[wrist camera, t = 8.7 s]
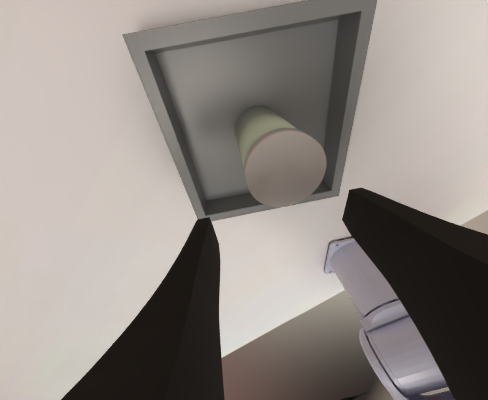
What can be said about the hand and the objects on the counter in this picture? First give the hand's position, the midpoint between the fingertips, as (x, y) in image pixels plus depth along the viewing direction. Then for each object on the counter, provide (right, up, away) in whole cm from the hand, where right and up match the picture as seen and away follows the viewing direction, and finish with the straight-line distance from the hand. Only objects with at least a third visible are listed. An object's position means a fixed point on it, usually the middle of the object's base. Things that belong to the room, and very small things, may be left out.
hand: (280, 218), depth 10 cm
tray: (-1, +7, +7) cm, 10 cm away
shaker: (-1, +7, +6) cm, 9 cm away
